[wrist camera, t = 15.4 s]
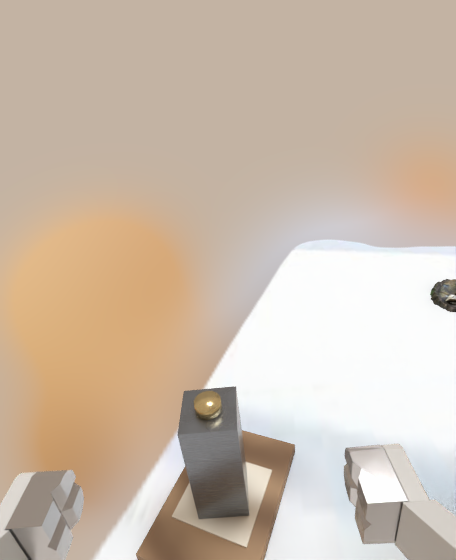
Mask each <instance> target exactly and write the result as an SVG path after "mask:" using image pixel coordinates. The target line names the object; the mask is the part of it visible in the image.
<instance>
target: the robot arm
mask: <svg viewBox="0 0 456 560" xmlns="http://www.w3.org/2000/svg"><path fill="white" fill-rule="evenodd" d="M345 459H346V462H347V464H346V465H345V466H344V479H345V486H346V490H347V494H348V497H349V501H350V502H351V503H352V504H353V505H354V506H355V507H356V510H355V520H356V523H357V526H358V529H359V533H360V536H361V539H362V542H363V544H380V543H395V545H396V546H397V547H398V549H399V550H400V551H401V552H402V553H403V554H404V555H405V556H406V558H407V559H408V560H456V516H455V515H453V514H452V513H451V512H450V511H449V510H447V509H446V508H445V507H444V506H442V505H441V504H440V503H439V502H437V501H436V500H429V498H428V496H427V494H426V492H425V490H424V488H423V486H422V484H421V482H420V480H419V478H418V476H417V475H416V473H415V471H414V469H413V467H412V465H411V463H410V461H409V459H408V457H407V455H406V453H405V451H404V449H403V447H402V446H401V445H400V444H389V445H371V446H361V447H350V448H346V449H345ZM75 478H76V476H75V474H74V472H73V471H72V470H62V471H46V472H29V473H20V474H19V475H18V476H17V477H16V478H15V479H14V481H13V483H12V484H11V486H10V488H9V490H8V492H7V493H6V495H5V497H4V499H3V501H2V502H1V504H0V560H65V559H66V556H67V553H68V551H69V548H70V545H71V542H72V539H73V536H72V532H71V529H72V528H73V527H74V526H75V525H76V524H77V522H78V521H79V519H80V516H81V513H82V508H83V501H84V497H83V491H82V489H81V487H80V486H79V485H77V484H76V483H74V481H75Z"/></svg>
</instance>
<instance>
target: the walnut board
mask: <svg viewBox="0 0 456 560" xmlns="http://www.w3.org/2000/svg"><path fill="white" fill-rule="evenodd" d="M242 437H243V444H244V452H245V459H246V467H247V482H248V500H249V516H238V517H224V518H210V519H199V518H198V514H197V510H196V506H195V502H194V498H193V494H192V490H191V486H190V482H189V478H188V474H187V470H186V466H185V468H184V469H183V471H182V473H181V475H180V477H179V478H178V480H177V482H176V484H175V485H174V487H173V489H172V491H171V493H170V494H169V496H168V498H167V500H166V502H165V503H164V505H163V507H162V509H161V511H160V512H159V514H158V516H157V518H156V519H155V521H154V523H153V525H152V527H151V528H150V530H149V532H148V534H147V536H146V537H145V539H144V541H143V543H142V545H141V546H140V548H139V550H138V552H137V553H136V556H137V558H138V560H264V557H265V554H266V550H267V547H268V543H269V540H270V536H271V533H272V529H273V526H274V523H275V519H276V516H277V512H278V509H279V505H280V502H281V498H282V495H283V491H284V488H285V484H286V481H287V477H288V474H289V470H290V467H291V463H292V460H293V456H294V453H295V445H294V444H290V443H287V442H283V441H279V440H276V439H272V438H268V437H265V436H261V435H257V434H254V433H250V432H246V431H243V430H242Z"/></svg>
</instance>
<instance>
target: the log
mask: <svg viewBox="0 0 456 560" xmlns="http://www.w3.org/2000/svg"><path fill="white" fill-rule="evenodd" d="M430 295H431V297H432V298H431V300H433V302H434V304H435V305H438V306H440V307H441V308H443V309H446V310H447V311H450V312H456V280H455V279H453V280H448V279H446V280H443V281H442V282H437V283H436V284H435V286H434V288H433V289H432V291H431V294H430Z"/></svg>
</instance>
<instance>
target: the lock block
mask: <svg viewBox="0 0 456 560" xmlns="http://www.w3.org/2000/svg"><path fill="white" fill-rule="evenodd" d="M178 438H179V442H180V446H181V450H182V454H183V458H184V462H185V466H186V470H187V474H188V478H189V482H190V486H191V490H192V494H193V498H194V502H195V506H196V510H197V514H198V518H199V519H210V518H224V517H238V516H249V500H248V482H247V467H246V459H245V452H244V444H243V437H242V429H241V422H240V414H239V407H238V399H237V391H236V387H225V388H214V389H202V390H192V391H184V394H183V401H182V408H181V415H180V422H179V429H178Z"/></svg>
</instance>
